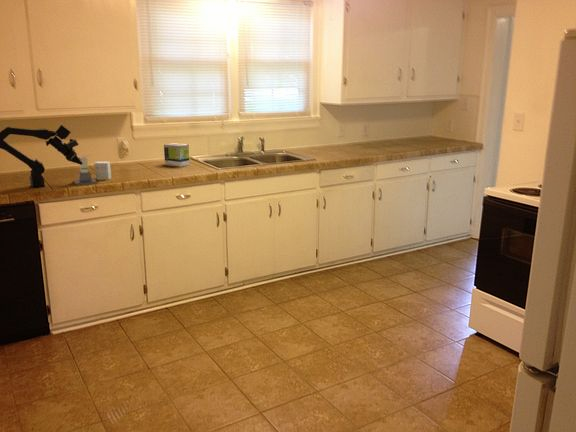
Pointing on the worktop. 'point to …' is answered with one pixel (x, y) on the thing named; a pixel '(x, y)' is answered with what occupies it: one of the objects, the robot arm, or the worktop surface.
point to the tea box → (176, 154)
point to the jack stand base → (85, 179)
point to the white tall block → (83, 165)
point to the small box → (102, 170)
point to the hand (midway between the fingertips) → (81, 162)
